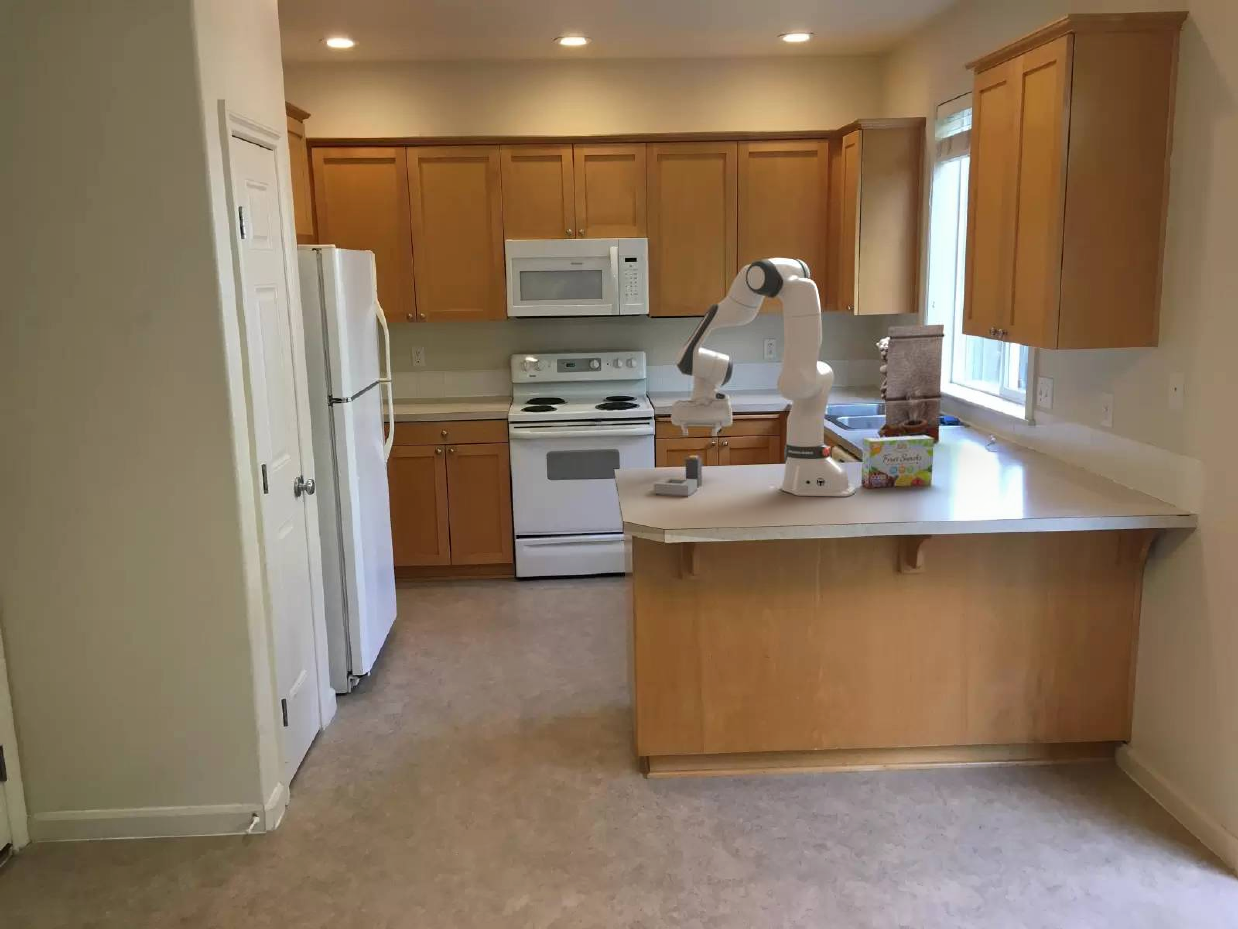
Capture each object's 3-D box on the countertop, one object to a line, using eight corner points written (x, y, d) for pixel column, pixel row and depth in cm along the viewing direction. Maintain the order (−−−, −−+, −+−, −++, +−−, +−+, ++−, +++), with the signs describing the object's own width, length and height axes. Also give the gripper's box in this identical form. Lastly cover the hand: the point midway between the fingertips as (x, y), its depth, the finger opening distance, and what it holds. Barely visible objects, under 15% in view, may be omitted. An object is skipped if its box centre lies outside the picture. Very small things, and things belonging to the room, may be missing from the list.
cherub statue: (912, 435, 379) (917, 322, 371) (939, 442, 362) (945, 324, 353) (861, 439, 374) (864, 324, 365) (886, 447, 356) (890, 326, 347)
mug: (896, 469, 317) (898, 425, 314) (873, 463, 327) (874, 420, 324) (936, 463, 325) (938, 420, 322) (911, 457, 335) (913, 416, 332)
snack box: (868, 489, 289) (870, 440, 286) (860, 485, 294) (862, 437, 291) (932, 484, 293) (934, 437, 290) (923, 481, 298) (925, 434, 295)
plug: (701, 484, 300) (701, 455, 298) (698, 487, 296) (697, 457, 294) (689, 484, 301) (689, 454, 299) (685, 486, 298) (685, 457, 296)
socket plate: (697, 490, 292) (697, 479, 291) (688, 497, 284) (688, 485, 283) (663, 488, 296) (663, 477, 296) (653, 494, 288) (653, 483, 287)
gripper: (672, 394, 314) (666, 428, 307) (733, 395, 309) (729, 429, 302) (674, 406, 319) (669, 439, 312) (735, 406, 314) (731, 440, 307)
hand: (699, 434), depth 307 cm, fingers open, 8 cm apart
